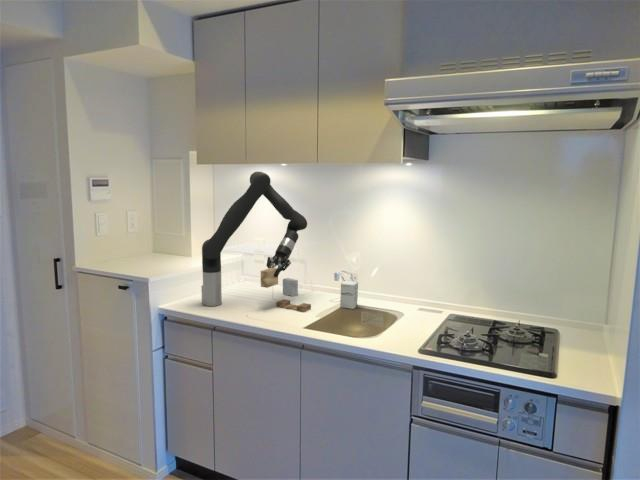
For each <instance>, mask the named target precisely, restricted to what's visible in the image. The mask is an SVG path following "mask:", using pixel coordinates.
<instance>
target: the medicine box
mask: <svg viewBox="0 0 640 480" xmlns="http://www.w3.org/2000/svg"><path fill="white" fill-rule="evenodd" d="M298 282H299V280H298V279H295V278H289V277H287V278H283V279H282V294H283V295H285V294H287V296H289V295H290V297H295V296H298V295H299V287H298V286H299V283H298Z"/></svg>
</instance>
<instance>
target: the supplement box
mask: <svg viewBox="0 0 640 480" xmlns="http://www.w3.org/2000/svg"><path fill="white" fill-rule="evenodd" d="M358 290H359V282H357V281H350V280H344V281H342V282H341V283H340V296H339V297H340V301H339V302H340V303H339V307H340V308H344V309H350V310H351V309H352V310H354V309H355V308H356V307H357V306H358V296H359V295H358V293H359V291H358ZM356 305H357V306H356Z"/></svg>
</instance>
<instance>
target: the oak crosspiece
mask: <svg viewBox="0 0 640 480" xmlns="http://www.w3.org/2000/svg"><path fill="white" fill-rule="evenodd" d="M277 268H278V267H274V268H269V269H268V268H265V269H262V270H260V288H267V289H268V288H271V287H274V286H276V285H279V275H278V276H277V277H275V276H274V273H275V271H276V269H277Z"/></svg>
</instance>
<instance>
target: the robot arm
mask: <svg viewBox="0 0 640 480" xmlns="http://www.w3.org/2000/svg"><path fill="white" fill-rule="evenodd" d="M271 183H272V182H271V177H270V176H269V175H268V174H267V173H266V172H264V171H263V172H262V171H254V172H253V173H251V174H250V176H249V184H250V185H249V186H248V187H247V190H246V191H245V192H244V193H243V194H242V195H241V196H240V197H239V198H238V199H237V200H235V201H234V202H233V203H232V204H231V205H230V207H229V208H228V210H227V211H226V213H225V214H224V216H223V217H222V220H221V221H220V223H219V226H218V228H217V230H216V231H215V232H214V233H213V234H212V236H211V237H210V238H209V239H206V240H205V241H204V242H203V244H202V245H201V259H202V260H201V261H202V262H201V263H202V267H201V268H202V285H201V304H202V305H203V306H206V307H217V306H220V305H222V302H223V301H222V295H223V294H222V259H221V258H222V257H221V256H222V251H223V249H224V247H225V246H226V244H227V243H228V242H229V239H230V238H231V237H232V235H234V233H235V232H236V231H237V230H238V229H239V227H240V226H241V225H242V224H243V222H244V221H245V219H246V218H247V216H248V215H249V213H250V212H251V211H252V209H253V208H254V205H255V204H256V203H257V202H258V201H259V199H260V198H261V197H262V196H263V197H265V199H267V201H268V202H269V203H270V204H271V205H272V206H273V208H274V209H275V210H276V211H277V212H278V213H279V214H280V216H281V217H282V218H283V219H284V220H286V221H287V220H289V221H288V224H287V226H286V232H285V234H284V235H283V238H282V240H281V241H280V243H279V244H278V246H277V248H276V250H275V253H274V255H273V257H272V256H271V257H270V256H268V257H267V261H266V268H267V269H269V268H277V269H276V271H275V273H274V276H275V277H277V276H278V277H279V275H280V273H281V272H284V271H286V270H287V268H289V267H290V265H291V264H292V262H291V260H290V259H289V258H290V256H291V255H292V252H293V250H294V249H295V245H296V243H297V241H298V239H299V234H298V231H304V230H305V229H306V228H307V226H308V220H307V218H305V216H304V215H303V214H301V213H300V212H299V211H297V210H295V209H294V208H293V207H292V205H290V203H289V202H288V201H287V200H286V199H285V198H284V197H283V196H281V194H279V192H277V191H276V190H275V189H274V187H273V186H272V185H271Z"/></svg>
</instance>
